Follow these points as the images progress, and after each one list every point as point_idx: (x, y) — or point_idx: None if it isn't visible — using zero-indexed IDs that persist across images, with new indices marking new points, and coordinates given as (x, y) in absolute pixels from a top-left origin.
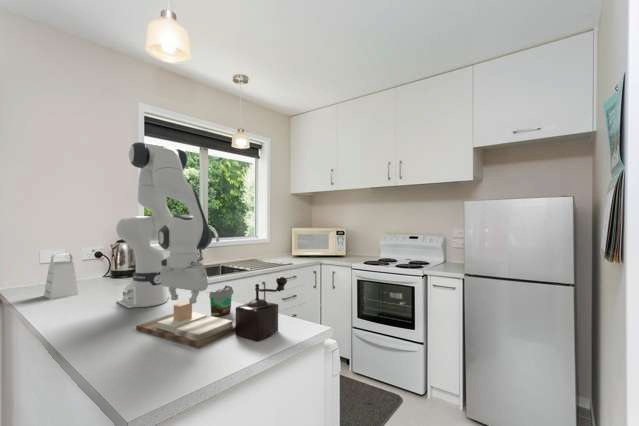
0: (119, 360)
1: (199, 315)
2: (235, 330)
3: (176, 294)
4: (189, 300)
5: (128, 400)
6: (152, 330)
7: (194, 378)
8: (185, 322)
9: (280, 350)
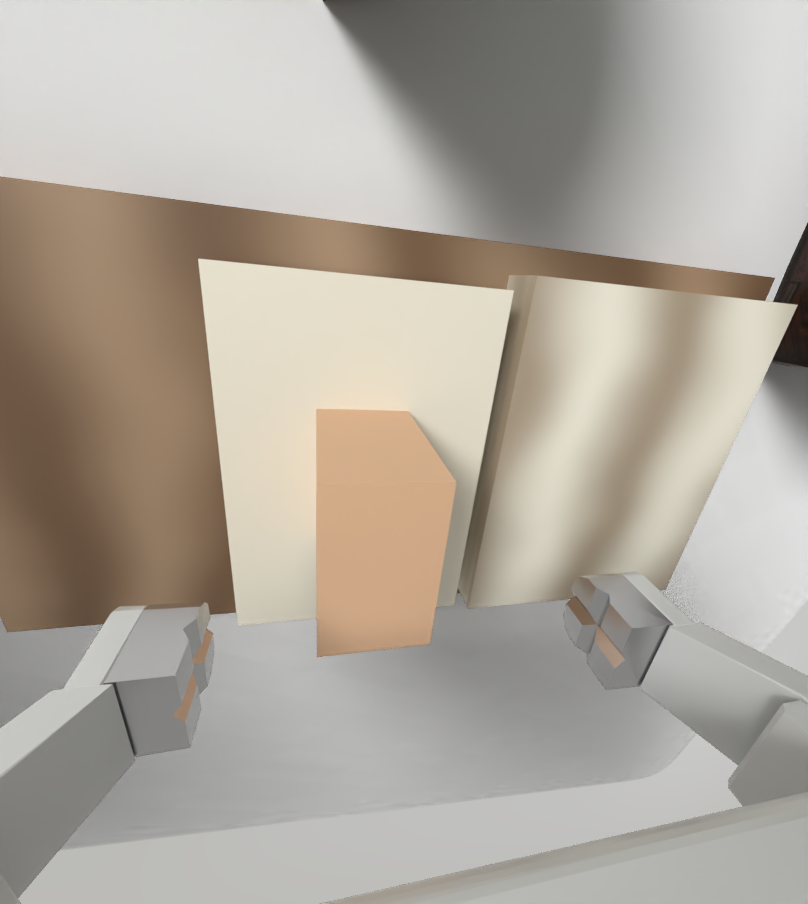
0: (407, 744)
1: (443, 336)
2: (786, 362)
3: (133, 690)
4: (589, 659)
5: (613, 767)
6: None
7: None
8: (463, 525)
9: None
